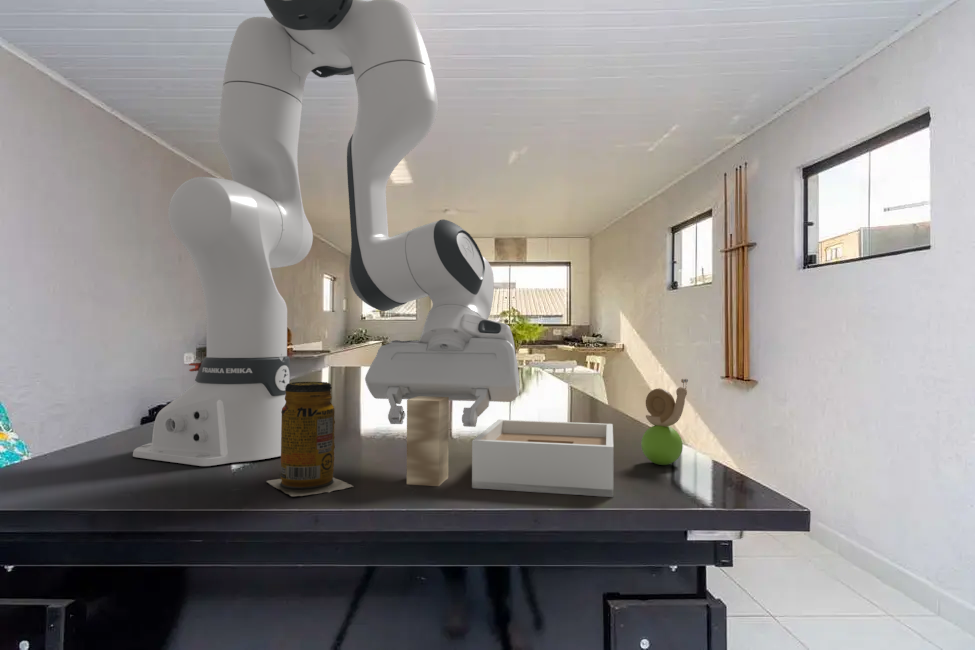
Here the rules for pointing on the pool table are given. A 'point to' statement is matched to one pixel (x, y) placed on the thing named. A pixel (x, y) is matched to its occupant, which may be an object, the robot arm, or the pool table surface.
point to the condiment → (307, 441)
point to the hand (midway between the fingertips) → (431, 422)
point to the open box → (544, 457)
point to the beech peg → (427, 440)
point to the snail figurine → (663, 426)
